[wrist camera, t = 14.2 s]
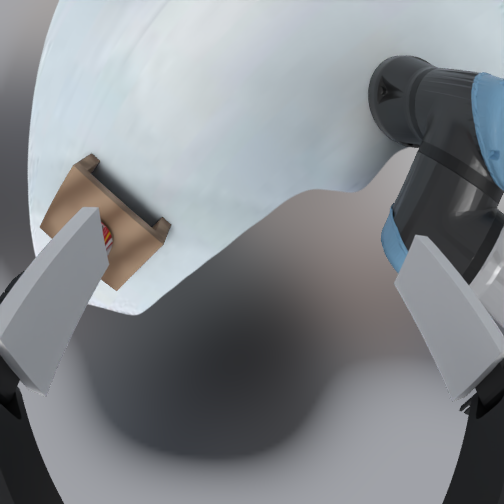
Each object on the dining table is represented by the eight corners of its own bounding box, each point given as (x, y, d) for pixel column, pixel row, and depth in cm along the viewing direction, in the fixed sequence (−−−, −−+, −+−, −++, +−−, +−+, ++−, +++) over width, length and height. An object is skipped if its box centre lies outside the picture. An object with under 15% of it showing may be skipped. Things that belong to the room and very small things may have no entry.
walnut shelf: (171, 224, 44) (163, 244, 39) (126, 270, 49) (116, 291, 44) (91, 153, 36) (73, 165, 31) (56, 210, 41) (39, 227, 36)
